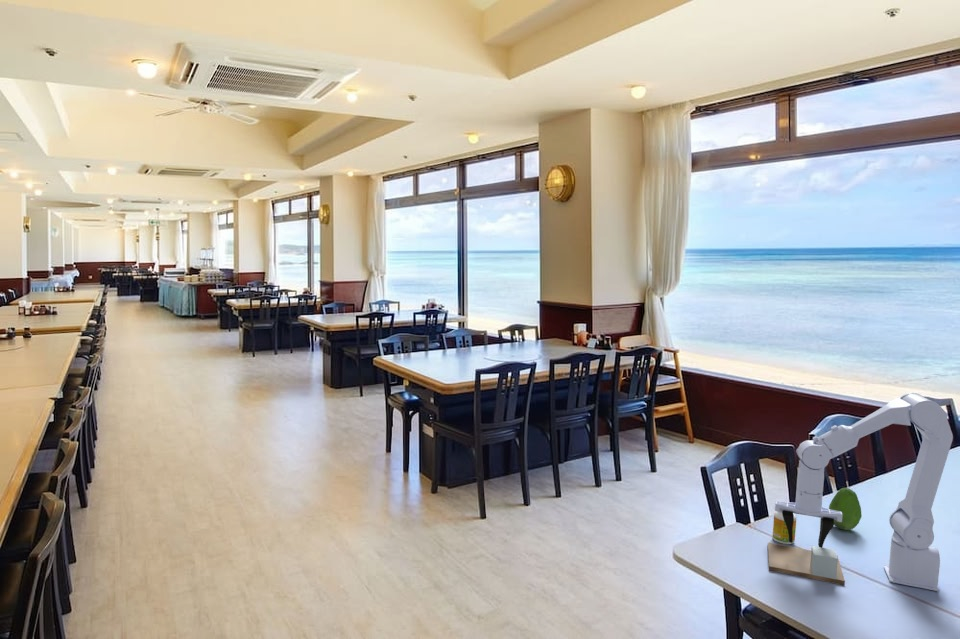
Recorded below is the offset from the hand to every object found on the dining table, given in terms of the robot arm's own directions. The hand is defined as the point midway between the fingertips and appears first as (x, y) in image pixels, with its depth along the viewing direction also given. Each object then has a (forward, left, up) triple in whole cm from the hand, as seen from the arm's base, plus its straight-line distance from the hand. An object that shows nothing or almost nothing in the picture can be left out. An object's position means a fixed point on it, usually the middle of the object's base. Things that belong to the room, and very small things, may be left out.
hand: (805, 543), depth 155 cm
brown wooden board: (0, 0, -5) cm, 5 cm away
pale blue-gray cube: (-4, +5, -4) cm, 7 cm away
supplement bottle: (+4, -13, -6) cm, 15 cm away
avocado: (-12, -29, -6) cm, 32 cm away
